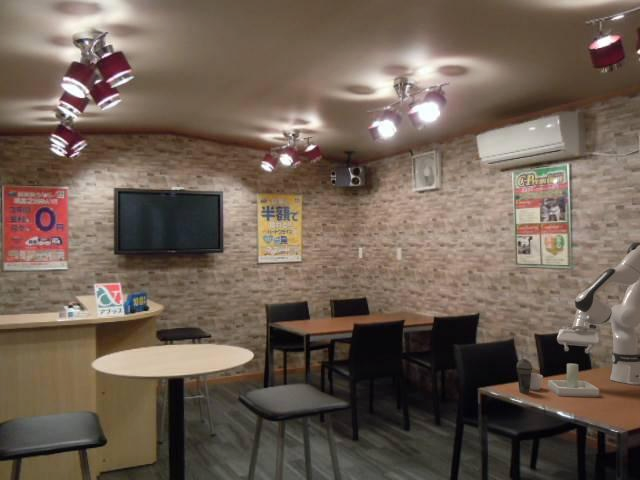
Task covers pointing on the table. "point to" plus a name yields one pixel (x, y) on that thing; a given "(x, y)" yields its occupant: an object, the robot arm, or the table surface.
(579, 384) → the tray
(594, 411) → the table surface
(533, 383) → the candle
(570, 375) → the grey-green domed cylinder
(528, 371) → the beverage cup
